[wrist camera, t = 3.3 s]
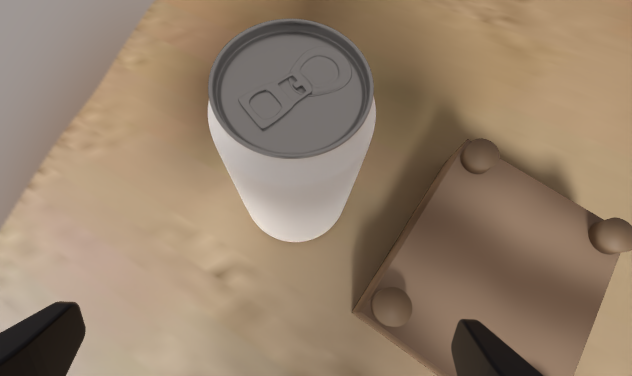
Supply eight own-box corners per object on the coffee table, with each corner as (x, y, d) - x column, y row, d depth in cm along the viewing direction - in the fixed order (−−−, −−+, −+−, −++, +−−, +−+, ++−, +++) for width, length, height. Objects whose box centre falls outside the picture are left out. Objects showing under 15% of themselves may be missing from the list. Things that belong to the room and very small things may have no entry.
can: (364, 204, 23) (426, 99, 12) (285, 265, 22) (269, 211, 10) (304, 134, 25) (308, -17, 13) (227, 186, 23) (157, 65, 12)
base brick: (504, 423, 19) (562, 454, 15) (351, 312, 21) (364, 311, 17) (580, 245, 23) (644, 229, 19) (445, 162, 24) (475, 130, 20)
